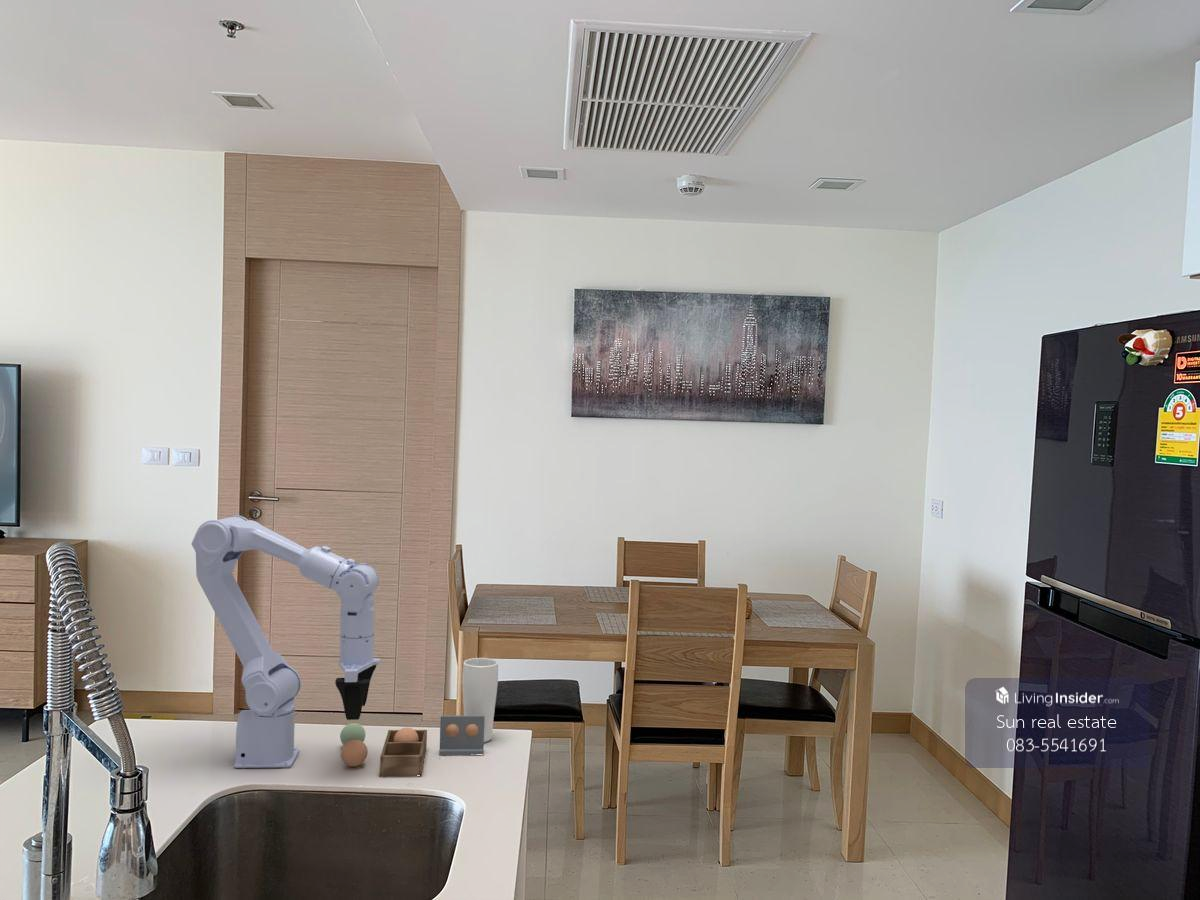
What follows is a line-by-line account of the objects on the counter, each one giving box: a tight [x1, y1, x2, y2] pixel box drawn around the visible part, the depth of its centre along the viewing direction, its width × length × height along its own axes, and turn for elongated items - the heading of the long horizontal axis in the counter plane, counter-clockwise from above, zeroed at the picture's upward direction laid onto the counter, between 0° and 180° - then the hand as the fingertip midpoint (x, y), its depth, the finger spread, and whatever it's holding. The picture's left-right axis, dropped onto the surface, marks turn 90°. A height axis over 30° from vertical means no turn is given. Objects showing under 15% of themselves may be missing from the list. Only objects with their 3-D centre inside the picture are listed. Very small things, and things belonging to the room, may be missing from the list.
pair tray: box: [379, 729, 428, 777], centre depth 163 cm, size 7×14×4 cm, turn 7°
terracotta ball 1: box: [340, 740, 369, 768], centre depth 160 cm, size 4×4×4 cm
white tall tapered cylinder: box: [461, 657, 499, 743], centre depth 176 cm, size 7×7×15 cm
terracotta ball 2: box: [393, 727, 419, 742], centre depth 166 cm, size 4×4×4 cm
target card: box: [438, 714, 485, 756], centre depth 168 cm, size 8×3×7 cm, turn 97°
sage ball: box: [339, 722, 366, 746], centre depth 169 cm, size 4×4×4 cm
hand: (356, 712), depth 160 cm, fingers open, 7 cm apart
